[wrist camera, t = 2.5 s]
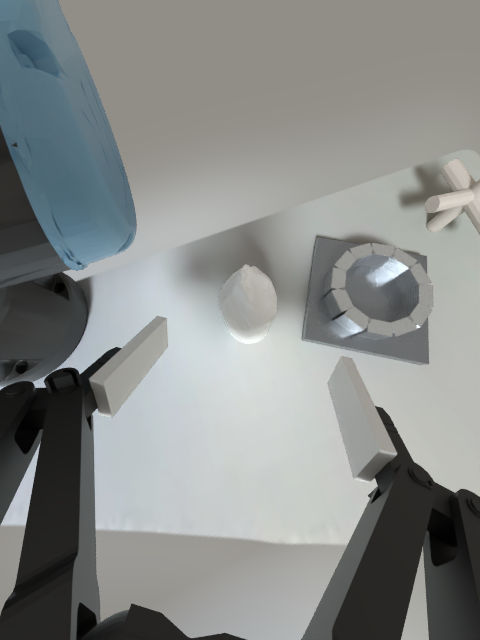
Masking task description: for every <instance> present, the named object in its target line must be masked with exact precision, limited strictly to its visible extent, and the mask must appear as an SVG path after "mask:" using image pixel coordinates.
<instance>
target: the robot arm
mask: <svg viewBox="0 0 480 640" xmlns="http://www.w3.org/2000/svg"><path fill="white" fill-rule="evenodd" d="M135 234H136V214H135V208H134V203H133V199H132V194H131V191H130V187H129V183H128V179H127V176H126V173H125V169H124V167H123V163H122V160H121V157H120V153H119V150H118V147H117V145H116V141H115V138H114V135H113V133H112V130H111V127H110V124H109V121H108V119H107V116H106V113H105V110H104V108H103V105H102V102H101V100H100V97H99V94H98V92H97V89H96V87H95V84H94V82H93V79H92V77H91V74H90V72H89V69H88V67H87V64H86V62H85V59H84V57H83V55H82V52H81V50H80V48H79V46H78V43H77V41H76V39H75V37H74V36H73V34H72V32H71V31H70V28H69V26H68V24H67V21H66V19H65V17H64V15H63V12H62V10H61V7H60V5H59V2H58V0H0V386H6V387H4V388H3V389H1V390H0V525H1V523H2V521H3V518H4V516H5V514H6V512H7V510H8V508H9V506H10V504H11V502H12V500H13V498H14V496H15V493H16V491H17V489H18V487H19V485H20V483H21V481H22V479H23V477H24V475H25V473H26V471H27V468H28V466H29V464H30V462H31V460H32V458H33V456H34V454H35V452H36V450H37V448H38V446H39V443H40V441H41V443H40V449H39V455H38V460H37V466H36V472H35V477H34V483H33V489H32V494H31V500H30V506H29V511H28V517H27V523H26V528H25V534H24V540H23V546H22V551H21V557H20V563H19V568H18V574H17V580H16V584H15V588H14V590H13V593H12V594H11V595H10V596H9V598H8V599H7V600H6V602H5V604H4V607H3V609H2V612H1V616H0V640H246V639H242V638H239V637H236V636H233V635H230V634H227V633H222V634H216V635H210V636H204V637H198V638H189V637H187V636H186V635H185V634H184V633H183V632H182V631H180V630H179V629H178V628H177V627H176V626H175V625H174V624H173V623H172V622H171V621H170V620H168V619H167V618H166V617H165V616H164V615H163V614H162V613H160V612H156V611H154V610H150V609H147V608H144V607H141V606H137V605H135V604H131V607H130V609H129V610H126V611H122V612H119V613H116V614H114V615H112V616H110V617H108V618H107V619H105V620H104V621H102V622H101V623H100V598H99V588H98V582H97V575H96V537H95V487H94V437H93V415H92V413H93V412H94V411H95V410H96V409H97V408H98V411H99V415H103V416H107V417H111V418H113V416H114V415H115V414H116V413H117V411H118V410H119V409H120V407H121V406H122V405H123V404H124V402H125V401H126V400H127V398H128V397H129V396H130V395H131V393H132V392H133V391H134V389H135V388H136V387H137V386H138V384H139V383H140V382H141V380H142V379H143V378H144V377H145V375H146V374H147V373H148V371H149V370H150V369H151V368H152V366H153V365H154V364H155V363H156V361H157V360H158V359H159V357H160V356H161V355H162V354H163V352H164V351H165V350H166V348H167V347H168V340H167V318H164V317H159V316H157V317H156V318H155V319H154V320H152V321H151V322H150V323H149V324H148V325H147V326H146V327H145V328H144V329H143V330H142V331H140V332H139V333H138V334H137V335H136V336H135V337H134V338H133V339H132V340H131V341H130V342H128V343H127V344H126V345H125V346H124V347H123V348H118V347H115V348H113V349H111V350H109V351H107V352H106V353H105V354H104V355H102V356H101V358H99V359H98V360H97V361H96V362H94V363H93V364H92V365H91V366H90V367H88V368H87V369H86V370H85V371H84V372H83V373H81V374H80V375H79V372H78V370H77V369H75V368H62V369H59V370H56V371H54V372H52V371H53V370H55V369H56V368H57V367H59V366H60V365H61V364H62V363H63V362H64V361H65V360H66V359H67V358H68V357H69V356H70V354H71V353H72V352H73V350H74V349H75V347H76V346H77V344H78V342H79V341H80V339H81V336H82V334H83V331H84V328H85V324H86V319H87V305H86V300H85V296H84V294H83V292H82V290H81V288H80V287H79V285H78V284H77V283H76V282H75V281H74V280H73V279H72V278H71V277H69V276H68V275H66V274H64V273H63V271H66V270H70V269H72V270H76V271H78V270H82V269H84V268H86V267H87V265H88V264H89V263H92V262H95V261H98V260H101V259H104V258H107V257H110V256H113V255H116V254H119V253H121V252H123V251H124V250H126V249H127V248H128V247H129V246H130V245H131V244H132V242H133V240H134V238H135ZM50 372H52V373H50ZM49 373H50V374H49ZM47 374H49V375H48V376H47V377H46V378H45V380H44V383H45V385H46V387H47V388H35V386H34V384H33V383H32V382H33V381H35V380H38V379H40V378H42V377H44V376H46V375H47ZM328 387H329V391H330V394H331V398H332V402H333V405H334V409H335V413H336V416H337V420H338V423H339V427H340V431H341V434H342V438H343V442H344V445H345V449H346V453H347V456H348V460H349V464H350V467H351V471H352V474H353V478H354V479H355V480H359V481H363V482H367V483H370V482H371V481H372V480H373V479H374V478H375V479H376V482H377V485H378V487H376V488H375V489H374V490H373V491H372V492H371V493H370V494H369V495H368V496H369V497H370V500H369V502H368V504H367V506H366V508H365V510H364V512H363V515H362V517H361V519H360V521H359V523H358V525H357V527H356V529H355V531H354V533H353V535H352V537H351V539H350V541H349V543H348V545H347V548H346V550H345V552H344V554H343V556H342V558H341V560H340V562H339V564H338V566H337V568H336V570H335V572H334V574H333V576H332V578H331V580H330V582H329V585H328V587H327V589H326V591H325V593H324V595H323V597H322V599H321V601H320V603H319V605H318V607H317V609H316V612H315V613H314V616H313V617H312V620H311V622H310V624H309V626H308V628H307V630H306V632H305V634H304V636H303V638H302V639H301V640H401V636H402V632H403V628H404V623H405V619H406V615H407V610H408V606H409V602H410V598H411V594H412V590H413V585H414V581H415V576H416V573H417V568H418V564H419V560H420V556H421V552H422V547H423V552H424V568H425V583H426V599H427V614H428V630H429V640H480V497H479V496H477V495H476V494H475V493H473V492H471V491H468V490H466V489H460V490H459V491H457V492H456V493H454V492H452V491H450V490H448V489H447V488H445V487H443V486H441V485H439V484H437V483H435V482H434V481H433V479H432V478H431V476H430V475H429V474H428V472H427V471H425V470H424V469H423V468H422V467H421V466H419V465H418V464H416V463H414V461H413V460H412V458H411V456H410V454H409V452H408V450H407V448H406V446H405V444H404V443H403V441H402V439H401V437H400V435H399V434H398V431H397V429H396V427H394V424H393V422H392V420H391V418H390V416H389V415H388V414H387V413H386V412H385V411H384V409H383V408H381V407H376V406H374V404H373V401H372V399H371V397H370V395H369V393H368V391H367V389H366V387H365V385H364V383H363V381H362V378H361V376H360V374H359V372H358V370H357V368H356V366H355V364H354V362H353V360H352V358H348V357H343V356H341V357H340V359H339V361H338V363H337V365H336V367H335V369H334V371H333V373H332V375H331V377H330V379H329V381H328Z"/></svg>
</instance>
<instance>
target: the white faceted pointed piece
mask: <svg viewBox="0 0 480 640" xmlns="http://www.w3.org/2000/svg"><path fill="white" fill-rule="evenodd" d="M219 309H220V312H221V315H222V318H223V320H224V322H225V325H226V327H227V328H228V330H229V332H230V334H231V335H232V336H233V337H234V338H235V339H237V340H238V341H240V342H242V343H247V344H253V343H256V342H259V341H261V340H262V339H263V338H264V337H265V336H266V334H267V332H268V330H269V328H270V326H271V324H272V322H273V319H274V317H275V315H276V312H277V296H276V293H275V289H274V287H273V284H272V282H271V280H270V278H269V277H267V276H266V274H264V273H263V272H261V271H260V270H259V269H258V268H257V267H255V266H251V267H250V266H249V265H247V264H245V265H243V267H242V268H241V269H239V270H238V271H235V272H234V273H233V274H232V275H231V276H230V277H229V279H228V280H227V281H226V282H225V284H224V285H223V286H222V288H221V290H220V292H219Z"/></svg>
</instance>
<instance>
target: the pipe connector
mask: <svg viewBox="0 0 480 640" xmlns="http://www.w3.org/2000/svg"><path fill="white" fill-rule="evenodd" d="M441 174H442V175H443V177H444V178H445V180H446V182H447V183H448V185H449V186H450V188H451V190H452V191H453V192H449V193H444V194H440V195H435V196H432V197H430V198H428V200H427V201H426V203H425V211H427V212H428V213H434V212H439V211H441V212H440V213H439V214H438V215H436V216H435V217H434V218H433V219H432V220H430V221H429V222H428V223H427V228H428V229H429V230H430V231H432V232H437V231H439V230H440V229H442V228H443V227H444V226H446V225H447V224H448V223H450V222H451V221H452V220H454V219H455V218H456V217H458V216H459V215H461V214H462V213H463V212H466V213H467V215H468V217H469V218H470V220H471V221H472V223H473V225H474V226H475V228H476V229H477V231H478V233H479V234H480V180H479V181H477V182H475V181H474V179H473V178H472V176H471V175H470V174H469V172H468V171H467V169H466V168H465V166H464V165H463V163H462V162H461V160H460V159H458V158H457V159H454V160H452V161H451V162H449V163H447V164H446V165H445V166H444V167H443V168H442V169H441Z"/></svg>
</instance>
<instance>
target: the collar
mask: <svg viewBox="0 0 480 640" xmlns="http://www.w3.org/2000/svg"><path fill="white" fill-rule="evenodd" d="M430 283H432V282H431V280H430V279H429V277H428V276H427V256H424V255H418V254H412V253H406V252H404V251H402V250H401V249H399V248H397V249H396V250H395V246H389V245H383V244H378V243H372V244H371V245H370V243H367V244H364V245H361V244H355V243H349V242H344V241H338V240H332V239H326V238H321V237H318V238H317V240H316V242H315V247H314V254H313V262H312V269H311V276H310V283H309V291H308V298H307V305H306V312H305V320H304V327H303V334H302V340H303V341H308V342H313V343H317V344H322V345H327V346H332V347H337V348H342V349H346V350H351V351H356V352H361V353H366V354H371V355H375V356H380V357H385V358H390V359H395V360H400V361H405V362H409V363H414V364H419V365H423V364H429V346H428V316H429V314H430V313H431V311H432V309H430V308H432V307H433V286H432V285H428V284H430Z"/></svg>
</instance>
